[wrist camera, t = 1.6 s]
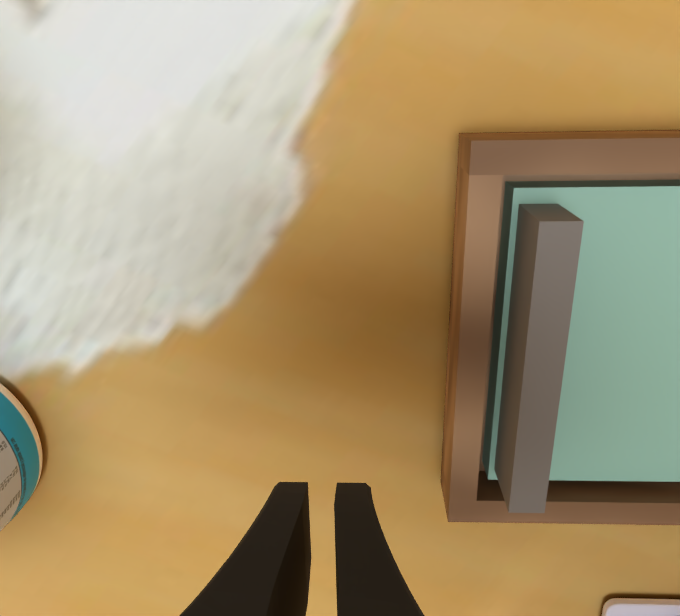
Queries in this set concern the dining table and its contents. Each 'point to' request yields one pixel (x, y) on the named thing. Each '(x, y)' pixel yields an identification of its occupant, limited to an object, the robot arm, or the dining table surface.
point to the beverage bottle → (17, 456)
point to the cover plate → (585, 337)
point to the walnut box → (479, 306)
